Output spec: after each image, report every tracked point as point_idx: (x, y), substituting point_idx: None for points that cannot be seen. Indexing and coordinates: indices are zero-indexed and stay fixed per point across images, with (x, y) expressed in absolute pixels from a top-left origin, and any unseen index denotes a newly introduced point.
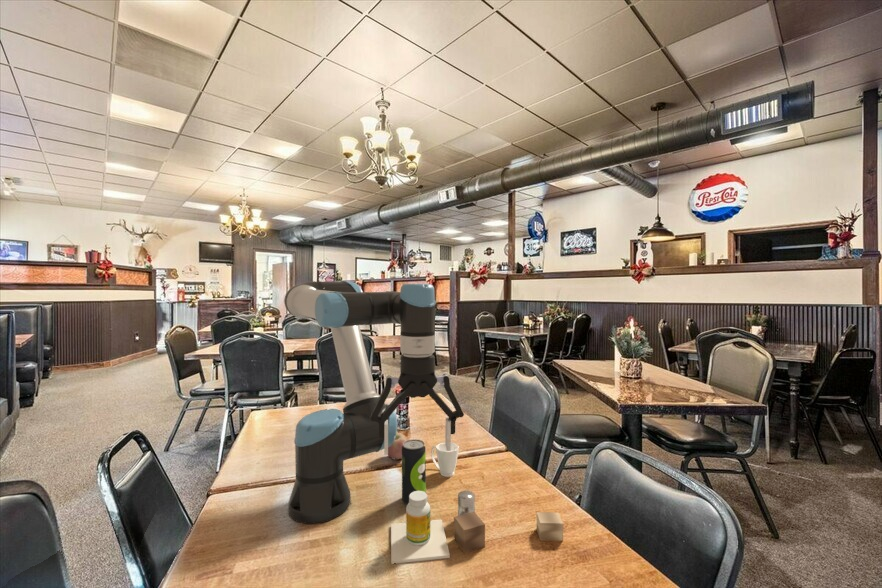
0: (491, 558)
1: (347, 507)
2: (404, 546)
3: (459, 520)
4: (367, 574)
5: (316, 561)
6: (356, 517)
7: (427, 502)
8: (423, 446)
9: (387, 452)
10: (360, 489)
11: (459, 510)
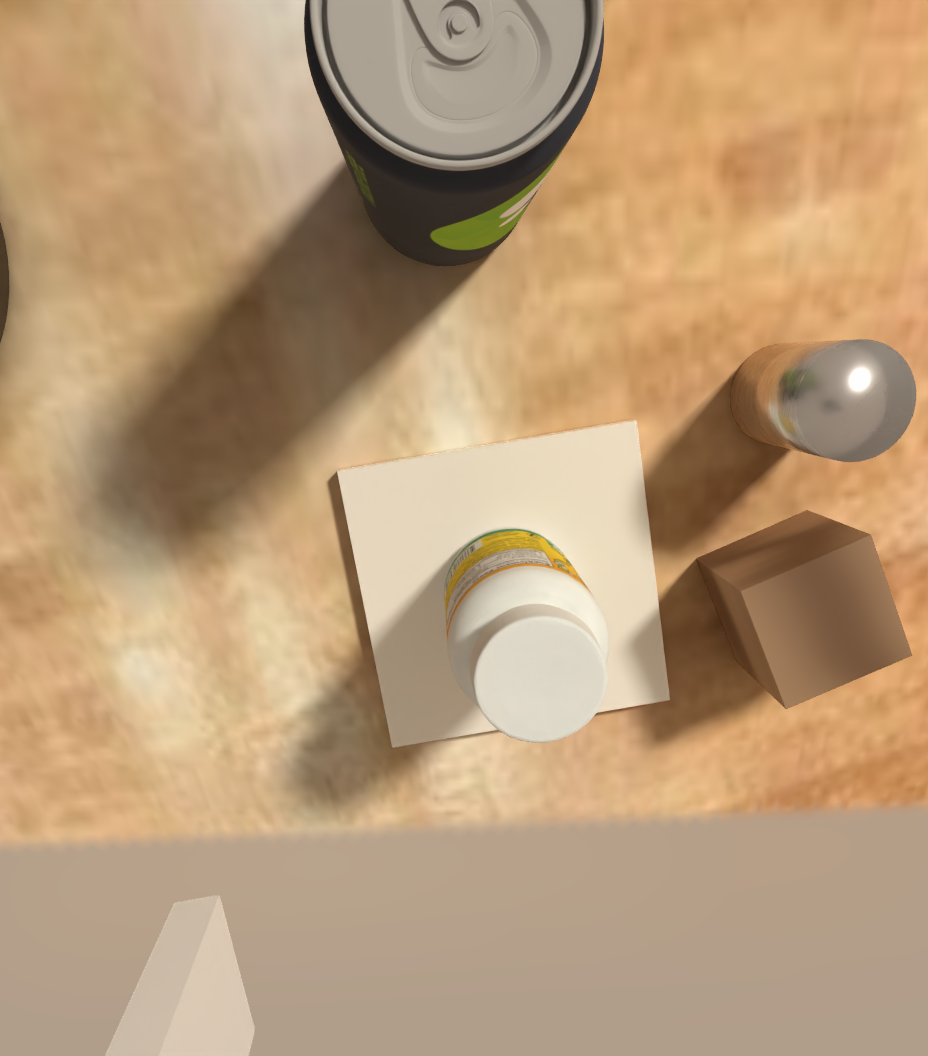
0: (859, 688)
1: (5, 295)
2: (442, 651)
3: (769, 625)
4: (297, 801)
5: (27, 738)
6: (103, 385)
7: (594, 626)
8: (588, 58)
9: (243, 1051)
10: (12, 27)
11: (765, 428)
